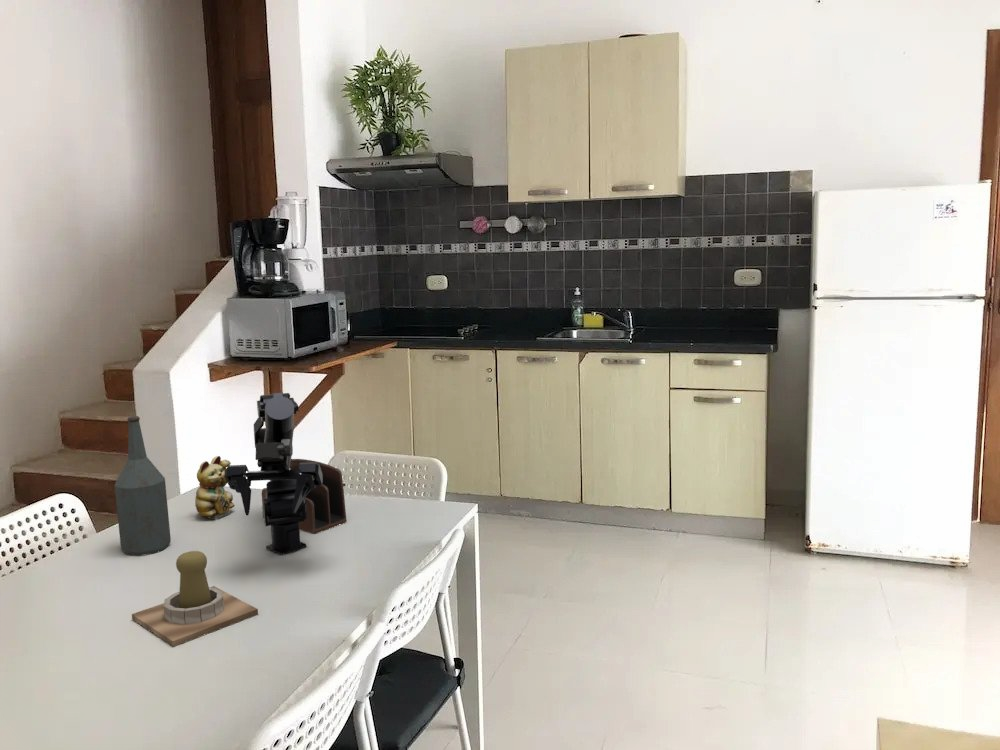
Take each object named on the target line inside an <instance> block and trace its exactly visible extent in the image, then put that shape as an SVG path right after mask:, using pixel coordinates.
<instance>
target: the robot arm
mask: <svg viewBox="0 0 1000 750" xmlns="http://www.w3.org/2000/svg"><path fill="white" fill-rule="evenodd" d="M256 410H257V418H256V420H255V421H254V423H253V440H254V448H255V460H256V461H257V467H258V468H260V470H249V469H248V466H247V465H246V464H233V465H231V464H230V465H229V466H228V467H226V469H225V475H224V477H225V479H226V481H227V485H228V486H229V488H230V489H231V490H233V491H235V492H236V493H238V494H240V497H241V502H242V505H243V509H244V513H245V515H246V516H249V514H250V510H251V501H252V500H251V499H252V498H251V497H252V489H251V486H252V482H254V481H255V482H256V481H266V485H265V486H266V488H267V489H266V499H263V509H262V513H263V512H264V518H263V520H264V521H263V522H264V524H265V525H264V526H265V527H269V526H270V533H271V534H270V535H271V544H268V545H265V548H266V549H267V550H269V551H271V552H274V553H276V554H279V555H285V554H288V553H291V552H294V551H297V550H301V549H303V548H306V547H307V544H306V543H303V542H302V541H301V535H300V534H301V532H300V531H301V530H300V529H299V522H300V521H302V522H303V521H305V519H307V511H306V510H307V501H306V500H305V499H304V498H305V497H306V495H307V494H308V493H309V492H310V490H314V489H315V488H316V486H321V485H322V480H323V475H322V471H321V468H320V465H319V464H318V463H317V462H318V461H317V462H302V463H300V464H299V469H292V470H290V461H291V459H292V457H293V453H294V452H293V451H294V450H293V449H294V447H293V442H294V441H293V440H294V438H293V437H294V431H295V430H294V428H295V427H294V423H295V422H294V420H295V415H297V412H299V411H300V410H299V405H298V403H297V401H295V399H294V397H291V393H289V392H284V393H283V392H273V393H272V394H261V395H259V400H256ZM264 424H265V425H264ZM264 426H265V427H264ZM295 479H296V480H295ZM267 516H268V517H267Z"/></svg>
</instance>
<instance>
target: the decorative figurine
mask: <svg viewBox="0 0 1000 750" xmlns="http://www.w3.org/2000/svg"><path fill="white" fill-rule="evenodd" d="M221 459H222V458H221V456H220V455H216V456H214V457H212V459H211V461H210V463H209V461H206V460H205V461H203V462H202V463H201V464H200V465H199V468H198V469H197V472H196V479H197V481H198V482H199V483H198V484H199V485H198V486H199V487H198V488H197V490H196V492H195V502H194V503H195V509H196V512H197V513H198V515H199V516H203V517H204V518H209V519H210V520H211V519H212V520H218V519H221V518H224V517H226V516H228V515H231V513H230V512H231V511H230V509H233V508H234V507H235V503H234V502H233V500H234V497H233V496H234V495H233V493H232V492H231V491H229V490H226V489H225V486H227V485H228V483H227V481H226V479H225V477H224V475H225V469H226V468H227V467H228V466H229V465H231V464H232V462H231V461H230V460H228V459H222V460H221Z"/></svg>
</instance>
